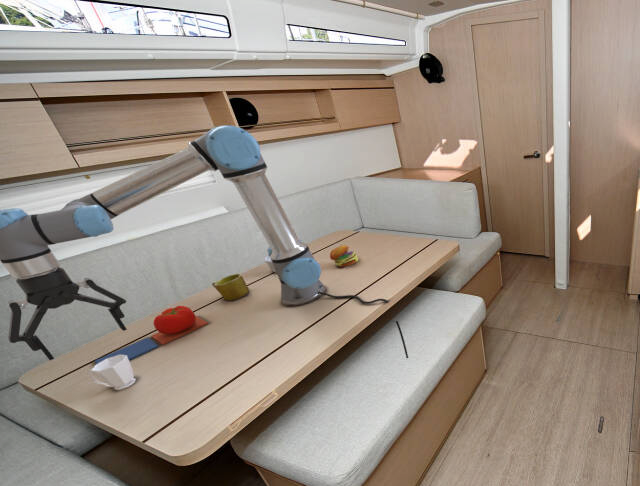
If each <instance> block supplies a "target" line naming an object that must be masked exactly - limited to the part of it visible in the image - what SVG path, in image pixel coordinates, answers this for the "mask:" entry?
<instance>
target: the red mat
mask: <svg viewBox="0 0 640 486" xmlns="http://www.w3.org/2000/svg"><path fill="white" fill-rule="evenodd" d="M195 316H196V320H195V322H194V324H193V325H192V326H191V327H189V328H188V329H184V330H183V331H181V332H179V333H173V334H168V333H167V334H163V333H160V332H156V333H154V334H152V335H151V338H153V339H154V340H155V341H157V342H158V343H159V344H161V345H162V346H163V345H165V344H168V343H170V342H172V341H174V340H177V339H179V338H181V337H183V336H185V335H188V334H189V333H191V332H195V331H196V330H199V329H200V328H202V327H205V326H207V325H209V322H208V321H206V320H204V319H202V318H200V317H198V316H197V315H195Z"/></svg>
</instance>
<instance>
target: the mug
mask: <svg viewBox="0 0 640 486" xmlns="http://www.w3.org/2000/svg"><path fill="white" fill-rule="evenodd" d="M211 285H212V287H213V288H214V289H216V291H217V292H218V293H219V294H220V295H221V297H222V299H224V300H225V301H236V300H239V299H240V298H242V297H244V296H246V295H247V294H248V293H249V292H250V288H249V286H248V284H247V283H246V280H245V279H244V277H243V276H242V274H240V273H235V274H230V275H227V276H225V277H223V278H221V279H219V280H218V279H217V280H215V281H214V282H212V283H211Z"/></svg>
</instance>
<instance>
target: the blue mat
mask: <svg viewBox="0 0 640 486" xmlns="http://www.w3.org/2000/svg"><path fill="white" fill-rule="evenodd" d="M157 348H159V345H158V344H157V343H156V342H155V341H153V340H152V339H150V338H149V337H145V338H143V339H141V340H138V341H136V342H134V343H131V344H130V345H127V346H124V347H123V348H120V349H118V350H115V351H114V352H111V353H108V354H106V355H104V356H102V357H100V358H97V359H95V360H94V363H95V365H96V364H98V363H100V362H102V361H103V360H105V359H107V358H110V357H114V356H117V355H127V357H128V359H129V361H131V360H134V359H136V358H138V357H140V356H143V355H144V354H147V353H148V352H151V351H153V350H155V349H157Z"/></svg>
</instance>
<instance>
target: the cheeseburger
mask: <svg viewBox="0 0 640 486" xmlns="http://www.w3.org/2000/svg"><path fill="white" fill-rule="evenodd" d="M349 248H350V247H349V245H346V244H343V245H340V246H338V247H336V248H333V249H332V250H330V252H329V258H330V260H331V261H333V262H334V264H335V265H336V266H337V267H339V268H346V267H348V266H350V265H353V264H355V263H358V262H359V257H358V255H357V252H355V251H353V250H351V251H350V250H349Z"/></svg>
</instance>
